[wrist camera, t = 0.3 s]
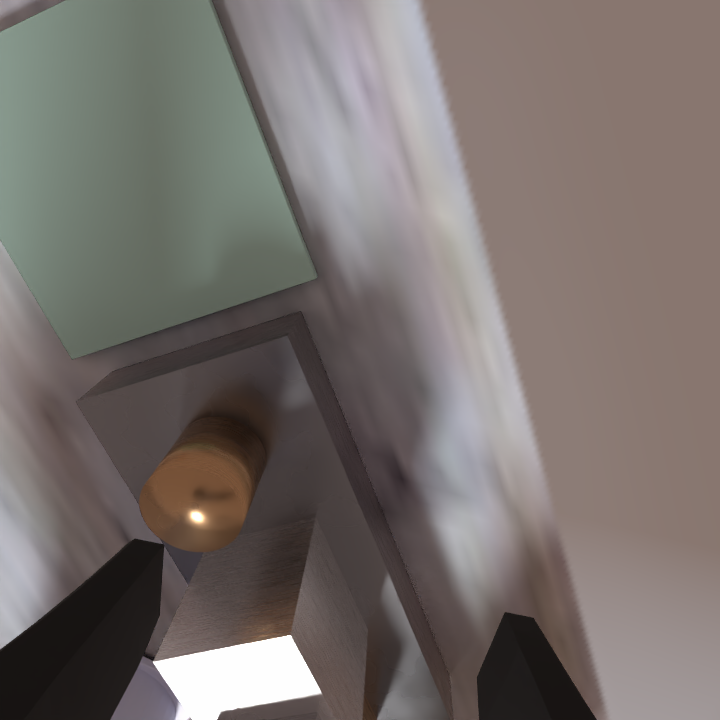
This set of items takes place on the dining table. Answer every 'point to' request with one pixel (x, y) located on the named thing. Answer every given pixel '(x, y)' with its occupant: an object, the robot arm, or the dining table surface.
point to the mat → (136, 171)
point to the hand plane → (269, 483)
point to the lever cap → (268, 632)
